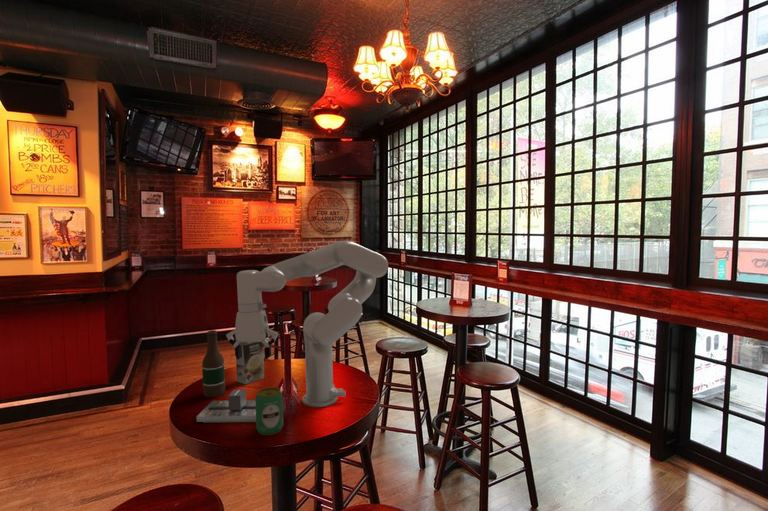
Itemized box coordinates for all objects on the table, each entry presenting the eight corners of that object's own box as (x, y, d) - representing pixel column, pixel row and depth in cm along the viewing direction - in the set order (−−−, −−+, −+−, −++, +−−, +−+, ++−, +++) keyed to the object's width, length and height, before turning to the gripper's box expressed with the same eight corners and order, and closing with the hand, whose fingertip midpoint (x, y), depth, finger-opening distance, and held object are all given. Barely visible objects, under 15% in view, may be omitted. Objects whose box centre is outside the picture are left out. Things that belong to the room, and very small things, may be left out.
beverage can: (258, 438, 121) (256, 398, 120) (255, 426, 128) (253, 389, 127) (285, 432, 124) (284, 393, 123) (281, 421, 131) (279, 384, 130)
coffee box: (245, 385, 162) (244, 345, 161) (236, 381, 166) (234, 342, 165) (264, 378, 170) (263, 340, 169) (255, 374, 173) (253, 337, 172)
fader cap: (246, 403, 139) (245, 389, 139) (240, 410, 134) (240, 395, 134) (234, 403, 139) (233, 389, 139) (228, 410, 134) (228, 395, 134)
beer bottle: (217, 398, 149) (214, 334, 148) (198, 397, 151) (195, 333, 149) (229, 390, 157) (227, 328, 155) (211, 389, 159) (208, 328, 157)
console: (281, 405, 143) (280, 394, 142) (271, 421, 131) (271, 410, 131) (212, 406, 143) (212, 395, 143) (196, 422, 131) (196, 411, 131)
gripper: (279, 304, 138) (282, 354, 139) (230, 305, 139) (233, 354, 141) (272, 309, 131) (275, 361, 132) (219, 310, 132) (223, 362, 133)
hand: (253, 358), depth 136 cm, fingers open, 9 cm apart
